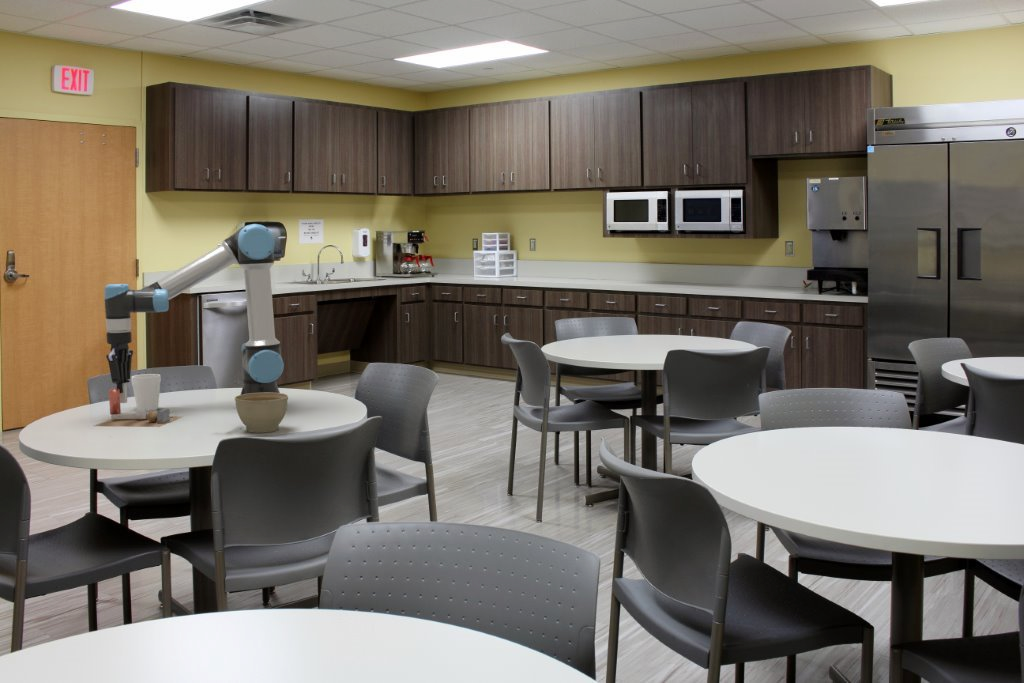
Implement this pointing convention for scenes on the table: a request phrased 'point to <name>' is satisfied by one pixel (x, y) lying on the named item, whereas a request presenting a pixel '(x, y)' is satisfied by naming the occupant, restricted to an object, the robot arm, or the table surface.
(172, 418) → the board
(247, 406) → the planter bowl
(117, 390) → the lever
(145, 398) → the foam cup
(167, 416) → the two-tone textured tile
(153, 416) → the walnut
